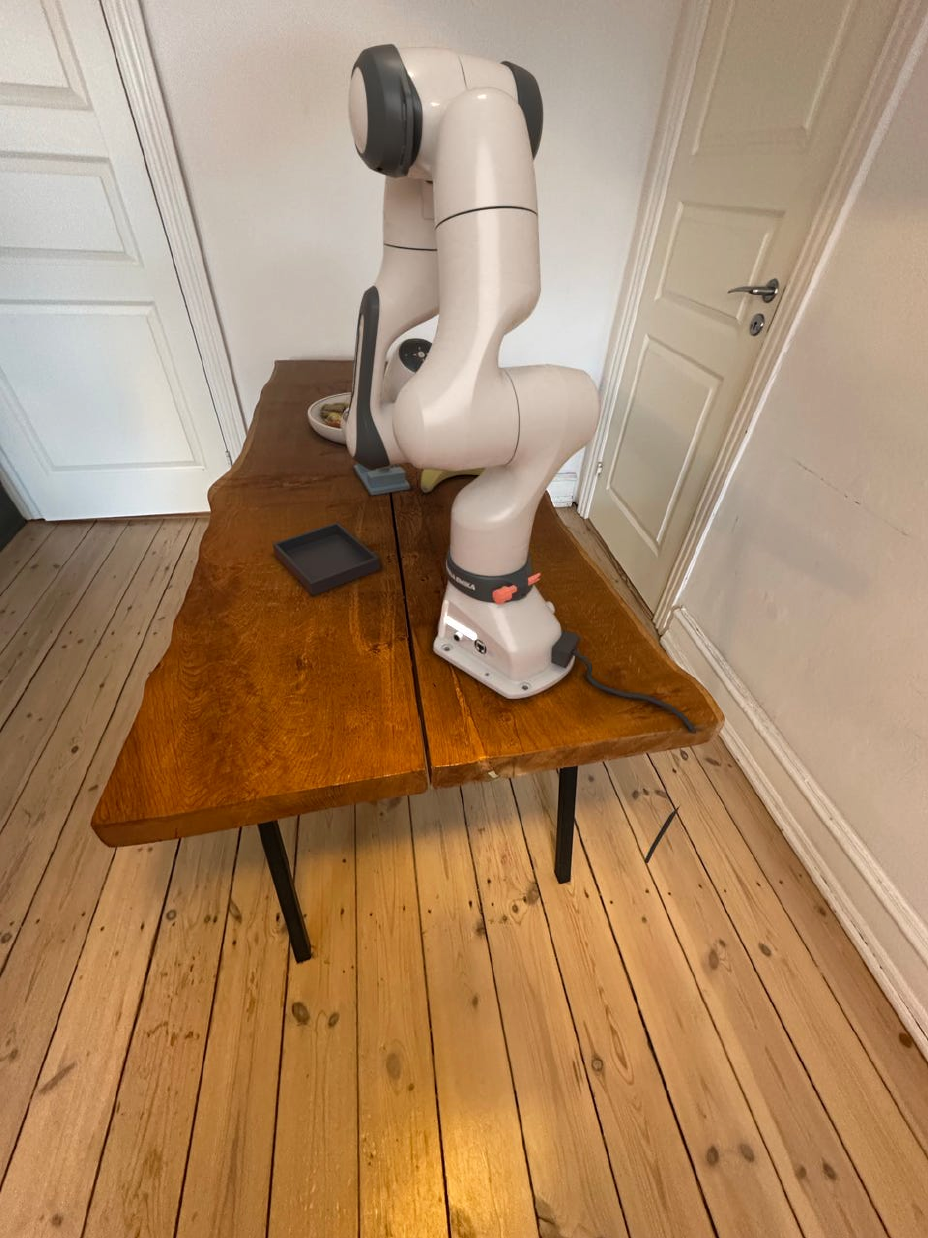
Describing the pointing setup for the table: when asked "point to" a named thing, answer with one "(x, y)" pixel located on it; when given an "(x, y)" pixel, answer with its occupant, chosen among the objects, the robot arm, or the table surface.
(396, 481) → the holder
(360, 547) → the tray
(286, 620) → the table surface
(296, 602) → the table surface
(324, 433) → the bowl
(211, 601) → the table surface
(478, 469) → the banana
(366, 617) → the table surface
